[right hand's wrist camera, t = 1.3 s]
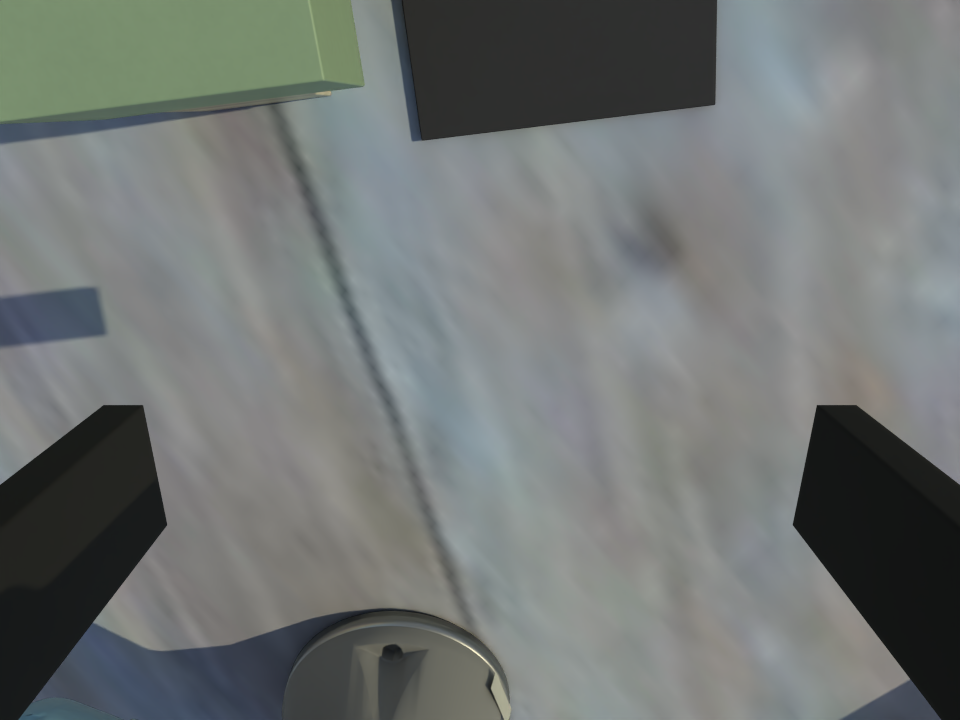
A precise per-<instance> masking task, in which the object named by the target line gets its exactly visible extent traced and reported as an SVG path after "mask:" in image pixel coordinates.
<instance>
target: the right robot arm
mask: <svg viewBox="0 0 960 720" xmlns="http://www.w3.org/2000/svg"><path fill="white" fill-rule="evenodd" d="M166 526H167V522H166V517H165V512H164V507H163V502H162V497H161V492H160V487H159V482H158V477H157V472H156V467H155V462H154V457H153V452H152V447H151V442H150V437H149V433H148V428H147V423H146V418H145V413H144V408H143V405H103V406H102V407H101V408H99V409H98V410H97V411H96V412H94V413H93V414H92V415H90V416H89V417H88V418H86V419H85V420H84V421H83V422H81V423H80V424H79V425H77V426H76V427H75V428H74V429H72V430H71V431H70V432H68V433H67V434H66V435H64V436H63V437H62V438H61V439H59V440H58V441H57V442H55V443H54V444H53V445H51V446H50V447H49V448H48V449H46V450H45V451H44V452H42V453H41V454H40V455H38V456H37V457H36V458H35V459H33V460H32V461H31V462H29V463H28V464H27V465H25V466H24V467H23V468H22V469H20V470H19V471H18V472H16V473H15V474H14V475H12V476H11V477H10V478H9V479H7V480H6V481H5V482H3V483H2V484H1V485H0V720H123V719H121V718H118V717H116V716H113V715H110V714H108V713H105V712H103V711H100V710H97V709H95V708H92V707H90V706H87V705H84V704H82V703H79V702H77V701H74V700H71V699H66V698H47V699H43V700H40V701H36V702H34V703H32V701H33V700H34V699H35V697H36V696H37V695H38V693H39V692H40V691H41V690H42V688H43V687H44V686H45V684H46V683H47V682H48V680H49V679H50V678H51V676H52V675H53V674H54V672H55V671H56V670H57V669H58V667H59V666H60V665H61V663H62V662H63V661H64V659H65V658H66V657H67V655H68V654H69V653H70V652H71V650H72V649H73V648H74V646H75V645H76V644H77V642H78V641H79V640H80V638H81V637H82V636H83V635H84V633H85V632H86V631H87V629H88V628H89V627H90V625H91V624H92V623H93V621H94V620H95V619H96V617H97V616H98V615H99V614H100V612H101V611H102V610H103V608H104V607H105V606H106V604H107V603H108V602H109V600H110V599H111V598H112V597H113V595H114V594H115V593H116V591H117V590H118V589H119V587H120V586H121V585H122V583H123V582H124V581H125V580H126V578H127V577H128V576H129V574H130V573H131V572H132V570H133V569H134V568H135V566H136V565H137V564H138V563H139V561H140V560H141V559H142V557H143V556H144V555H145V553H146V552H147V551H148V549H149V548H150V547H151V545H152V544H153V543H154V542H155V540H156V539H157V538H158V536H159V535H160V534H161V532H162V531H163V530H164V528H165V527H166ZM793 526H794V527H795V528H796V530H797V531H798V532H799V534H800V535H801V536H802V538H803V539H804V540H805V542H806V543H807V544H808V545H809V547H810V548H811V549H812V551H813V552H814V553H815V555H816V556H817V557H818V559H819V560H820V561H821V563H822V564H823V565H824V566H825V568H826V569H827V570H828V572H829V573H830V574H831V576H832V577H833V578H834V580H835V581H836V582H837V583H838V585H839V586H840V587H841V589H842V590H843V591H844V593H845V594H846V595H847V597H848V598H849V599H850V600H851V602H852V603H853V604H854V606H855V607H856V608H857V610H858V611H859V612H860V614H861V615H862V616H863V618H864V619H865V620H866V621H867V623H868V624H869V625H870V627H871V628H872V629H873V631H874V632H875V633H876V635H877V636H878V637H879V638H880V640H881V641H882V642H883V644H884V645H885V646H886V648H887V649H888V650H889V652H890V653H891V654H892V655H893V657H894V658H895V659H896V661H897V662H898V663H899V665H900V666H901V667H902V669H903V670H904V671H905V672H906V674H907V675H908V676H909V678H910V679H911V680H912V682H913V683H914V684H915V686H916V687H917V688H918V690H919V691H920V692H921V693H922V695H923V696H924V697H925V699H926V700H927V701H928V703H929V704H930V705H931V707H932V708H933V709H934V710H935V712H936V713H937V714H938V716H939V717H940V718H941V720H960V485H959V484H958V483H957V482H955V481H954V480H953V479H951V478H950V477H949V476H948V475H946V474H945V473H944V472H942V471H941V470H940V469H938V468H937V467H936V466H935V465H933V464H932V463H931V462H929V461H928V460H927V459H925V458H924V457H923V456H922V455H920V454H919V453H918V452H916V451H915V450H914V449H912V448H911V447H910V446H909V445H907V444H906V443H905V442H903V441H902V440H901V439H899V438H898V437H897V436H896V435H894V434H893V433H892V432H890V431H889V430H888V429H886V428H885V427H884V426H883V425H881V424H880V423H879V422H877V421H876V420H875V419H874V418H872V417H871V416H870V415H868V414H867V413H866V412H864V411H863V410H862V409H861V408H859V407H858V406H857V405H817V408H816V413H815V418H814V423H813V428H812V433H811V437H810V442H809V447H808V452H807V457H806V462H805V467H804V472H803V477H802V482H801V487H800V492H799V497H798V502H797V507H796V512H795V517H794V522H793ZM510 713H511V707H510V701H509V688H508V683H507V679H506V676H505V673H504V671H503V669H502V667H501V665H500V663H499V662H498V660H497V659H496V657H495V656H494V655H493V653H492V652H491V651H490V650H489V649H488V648H487V647H486V646H485V645H484V644H483V643H482V642H481V641H480V640H479V639H477V638H476V637H475V636H473V635H472V634H470V633H469V632H467V631H466V630H464V629H462V628H460V627H458V626H456V625H454V624H452V623H450V622H447V621H445V620H442V619H439V618H436V617H433V616H429V615H425V614H420V613H413V612H404V611H381V612H372V613H366V614H361V615H357V616H353V617H350V618H347V619H345V620H342V621H340V622H337V623H335V624H333V625H331V626H330V627H328V628H326V629H324V630H323V631H321V632H320V633H319V634H317V635H316V636H315V637H314V638H313V639H311V640H310V641H309V642H308V643H307V645H306V646H305V647H304V648H303V649H302V651H301V652H300V654H299V655H298V657H297V659H296V660H295V662H294V665H293V667H292V670H291V673H290V676H289V679H288V682H287V685H286V688H285V693H284V699H283V705H282V720H509V719H510ZM131 720H137V719H131Z"/></svg>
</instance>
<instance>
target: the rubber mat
mask: <svg viewBox="0 0 960 720" xmlns="http://www.w3.org/2000/svg"><path fill="white" fill-rule="evenodd" d="M402 3H403V11H404V18H405V25H406V32H407V39H408V46H409V53H410V60H411V67H412V74H413V81H414V88H415V96H416V103H417V110H418V117H419V124H420V131H421V138H422V140H431V139H439V138H447V137H455V136H464V135H472V134H480V133H488V132H496V131H504V130H513V129H521V128H529V127H537V126H545V125H553V124H562V123H570V122H578V121H586V120H594V119H603V118H611V117H619V116H627V115H635V114H643V113H652V112H660V111H668V110H676V109H684V108H692V107H701V106H709V105H715V89H716V27H717V0H402Z"/></svg>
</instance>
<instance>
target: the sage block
mask: <svg viewBox="0 0 960 720" xmlns="http://www.w3.org/2000/svg"><path fill="white" fill-rule="evenodd" d="M364 85H365V84H364V78H363V72H362V66H361V60H360V54H359V48H358V42H357V36H356V30H355V24H354V18H353V12H352V6H351V0H0V124H13V123H37V122H61V121H85V120H105V119H113V118H121V117H129V116H136V115H144V114H152V113H160V112H168V111H176V110H184V109H191V108H199V107H207V106H215V105H223V104H231V103H239V102H246V101H254V100H262V99H270V98H278V97H286V96H294V95H301V94H309V93H317V92H325V91H333V90H341V89H349V88H356V87H363V86H364Z"/></svg>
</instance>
